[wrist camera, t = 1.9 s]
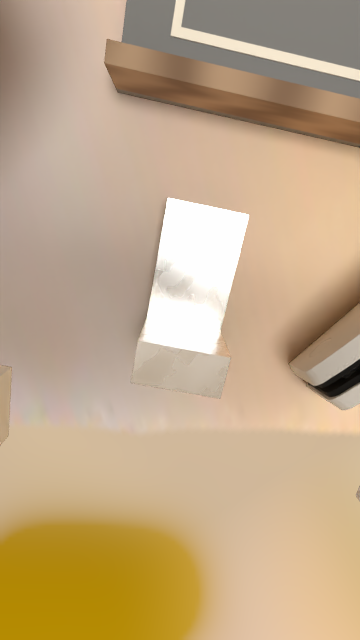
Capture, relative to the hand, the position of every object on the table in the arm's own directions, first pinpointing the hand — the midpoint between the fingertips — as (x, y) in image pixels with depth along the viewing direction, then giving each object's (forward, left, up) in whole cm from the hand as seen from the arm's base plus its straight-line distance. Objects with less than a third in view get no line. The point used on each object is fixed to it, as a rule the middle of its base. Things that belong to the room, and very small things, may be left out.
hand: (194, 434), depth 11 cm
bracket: (0, +3, -17) cm, 17 cm away
